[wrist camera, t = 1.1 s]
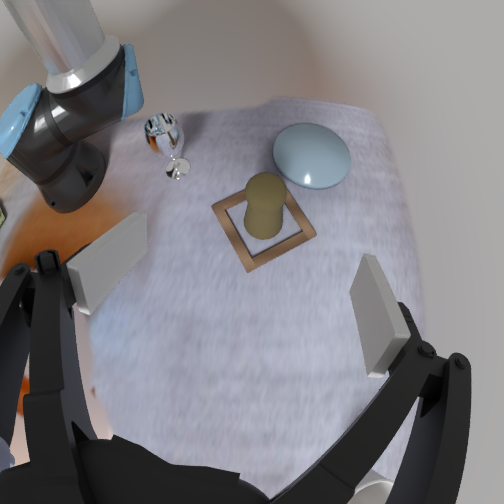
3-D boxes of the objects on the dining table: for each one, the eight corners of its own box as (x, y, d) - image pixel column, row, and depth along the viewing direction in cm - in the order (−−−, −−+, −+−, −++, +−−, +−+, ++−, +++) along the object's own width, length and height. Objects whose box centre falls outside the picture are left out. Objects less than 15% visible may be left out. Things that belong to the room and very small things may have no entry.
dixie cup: (319, 467, 31) (335, 498, 21) (366, 445, 32) (393, 469, 22) (331, 498, 29) (348, 529, 19) (376, 477, 30) (400, 503, 20)
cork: (268, 197, 43) (272, 157, 33) (290, 226, 42) (302, 192, 31) (236, 215, 42) (231, 179, 32) (257, 246, 41) (259, 217, 30)
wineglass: (161, 184, 44) (137, 142, 33) (163, 158, 46) (143, 114, 34) (193, 180, 44) (177, 135, 33) (194, 153, 46) (180, 107, 34)
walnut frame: (211, 207, 43) (211, 206, 42) (276, 176, 44) (276, 175, 44) (247, 272, 40) (247, 272, 39) (316, 235, 42) (316, 234, 41)
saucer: (258, 142, 47) (258, 138, 45) (319, 119, 48) (320, 115, 47) (300, 202, 43) (302, 198, 42) (363, 172, 45) (365, 168, 44)
